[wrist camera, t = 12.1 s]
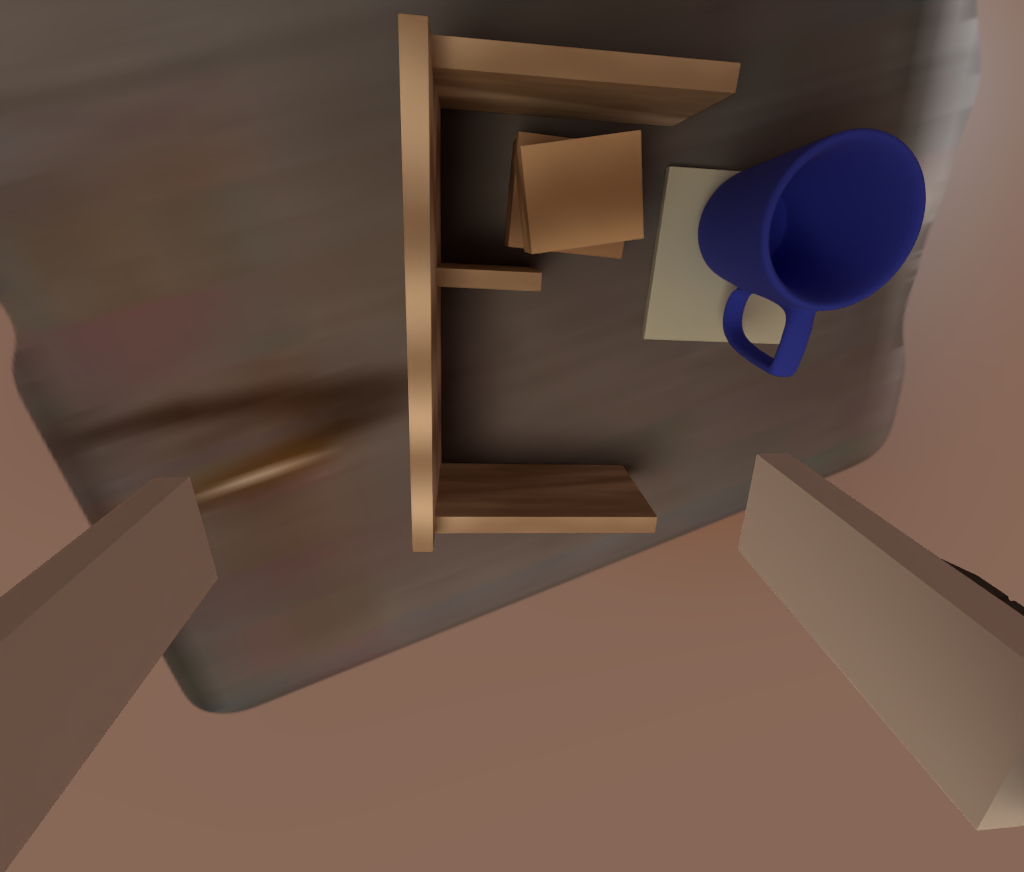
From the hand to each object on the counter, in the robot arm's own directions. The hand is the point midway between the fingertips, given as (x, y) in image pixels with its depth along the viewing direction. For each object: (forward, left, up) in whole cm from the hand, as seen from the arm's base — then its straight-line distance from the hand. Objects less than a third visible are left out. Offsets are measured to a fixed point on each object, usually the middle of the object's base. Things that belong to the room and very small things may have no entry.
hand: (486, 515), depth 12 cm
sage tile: (-5, +18, -25) cm, 31 cm away
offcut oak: (-8, +5, -21) cm, 24 cm away
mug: (-6, +18, -25) cm, 31 cm away
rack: (-1, +4, -25) cm, 26 cm away
